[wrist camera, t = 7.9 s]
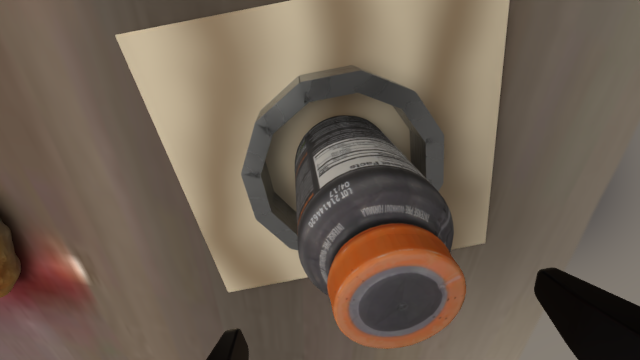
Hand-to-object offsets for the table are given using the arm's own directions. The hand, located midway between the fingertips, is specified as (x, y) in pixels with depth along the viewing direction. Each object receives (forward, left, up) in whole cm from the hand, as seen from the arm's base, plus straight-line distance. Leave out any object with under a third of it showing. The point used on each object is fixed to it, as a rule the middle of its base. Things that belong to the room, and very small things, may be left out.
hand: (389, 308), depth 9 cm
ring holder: (0, 0, -12) cm, 12 cm away
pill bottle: (0, 0, -11) cm, 11 cm away
